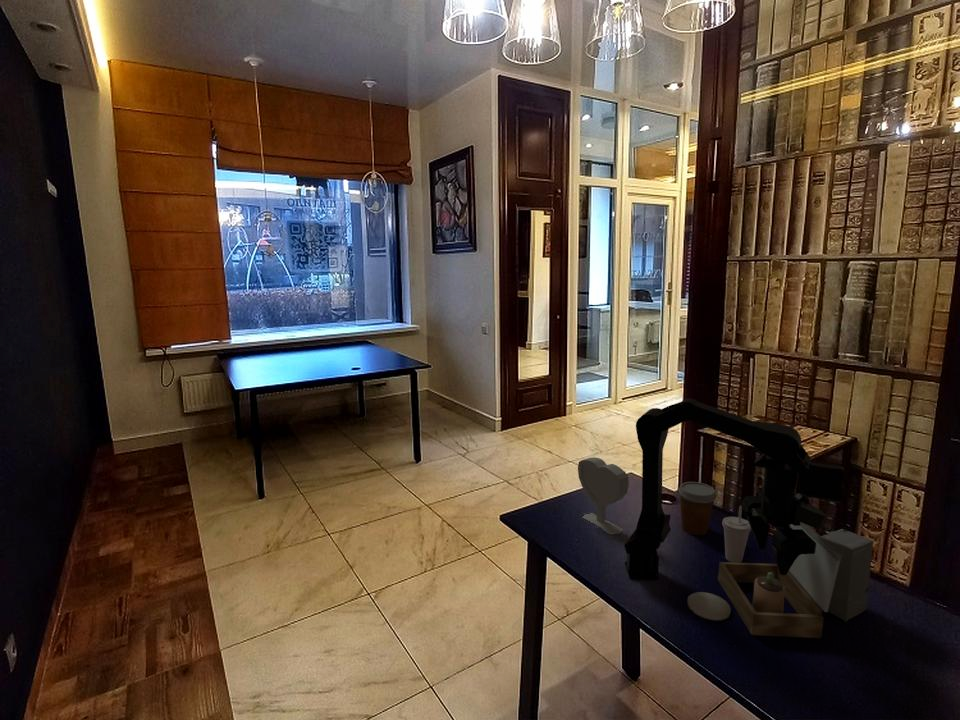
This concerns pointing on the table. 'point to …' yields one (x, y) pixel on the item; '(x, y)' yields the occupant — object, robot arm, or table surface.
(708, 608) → the cream round disc
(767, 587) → the clay pot
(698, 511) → the disposable coffee cup
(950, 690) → the table surface
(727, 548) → the smoothie
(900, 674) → the table surface
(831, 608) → the skincare box
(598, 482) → the heart sculpture
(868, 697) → the table surface
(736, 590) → the open wooden box frame
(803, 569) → the grey angled plate
